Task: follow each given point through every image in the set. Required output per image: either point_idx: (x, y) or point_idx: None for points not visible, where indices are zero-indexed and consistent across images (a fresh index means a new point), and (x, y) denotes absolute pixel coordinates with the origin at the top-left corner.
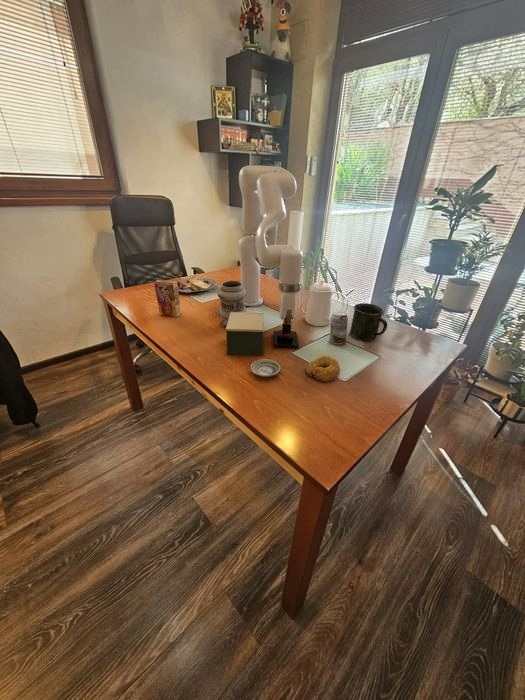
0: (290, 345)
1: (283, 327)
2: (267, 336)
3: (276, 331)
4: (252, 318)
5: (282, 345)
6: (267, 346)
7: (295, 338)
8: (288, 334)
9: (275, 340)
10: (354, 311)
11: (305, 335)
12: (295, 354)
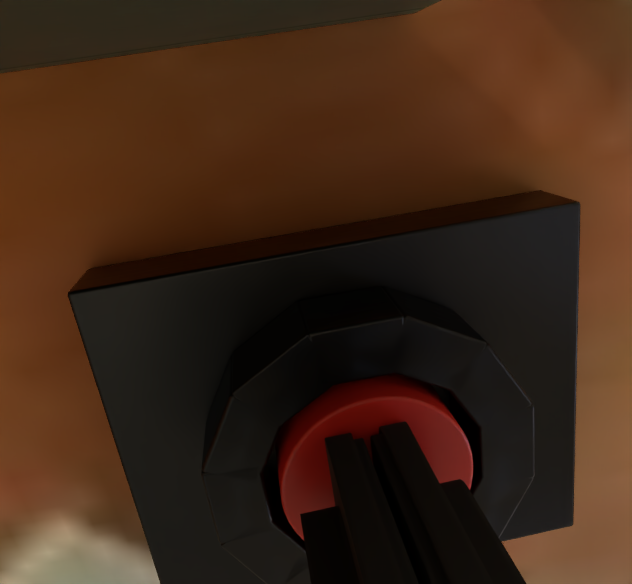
0: (142, 516)
1: (352, 553)
2: (469, 91)
3: (560, 250)
4: None
5: (111, 409)
6: (115, 147)
7: None
8: None
9: (216, 287)
10: None
11: (542, 581)
12: (22, 556)
